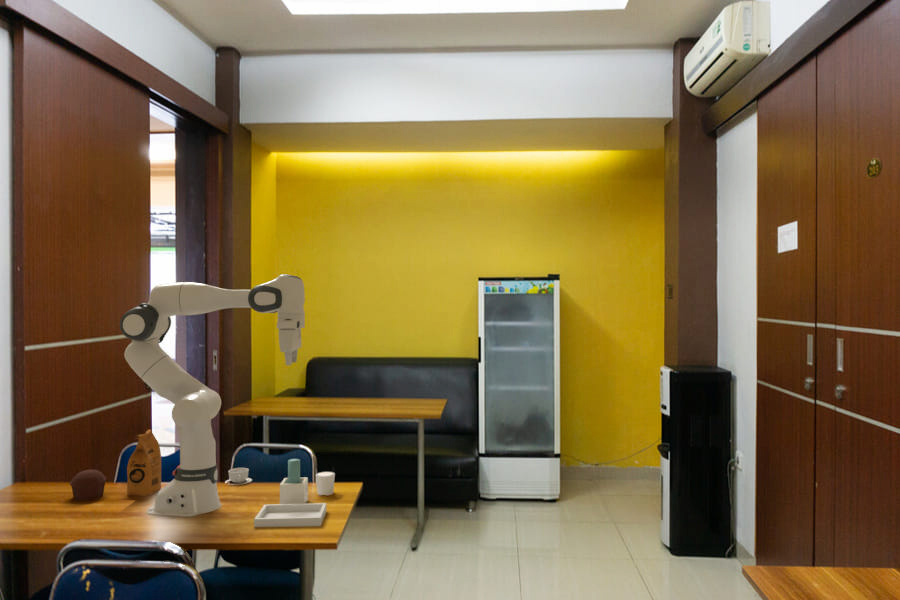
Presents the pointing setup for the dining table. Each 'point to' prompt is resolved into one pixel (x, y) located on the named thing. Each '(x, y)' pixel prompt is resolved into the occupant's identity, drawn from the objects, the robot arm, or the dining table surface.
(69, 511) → the dining table surface
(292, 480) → the dowel
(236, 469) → the teacup
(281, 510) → the tray
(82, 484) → the muffin
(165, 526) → the dining table surface
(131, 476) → the coffee package
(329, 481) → the tan cylinder
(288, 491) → the deep box
